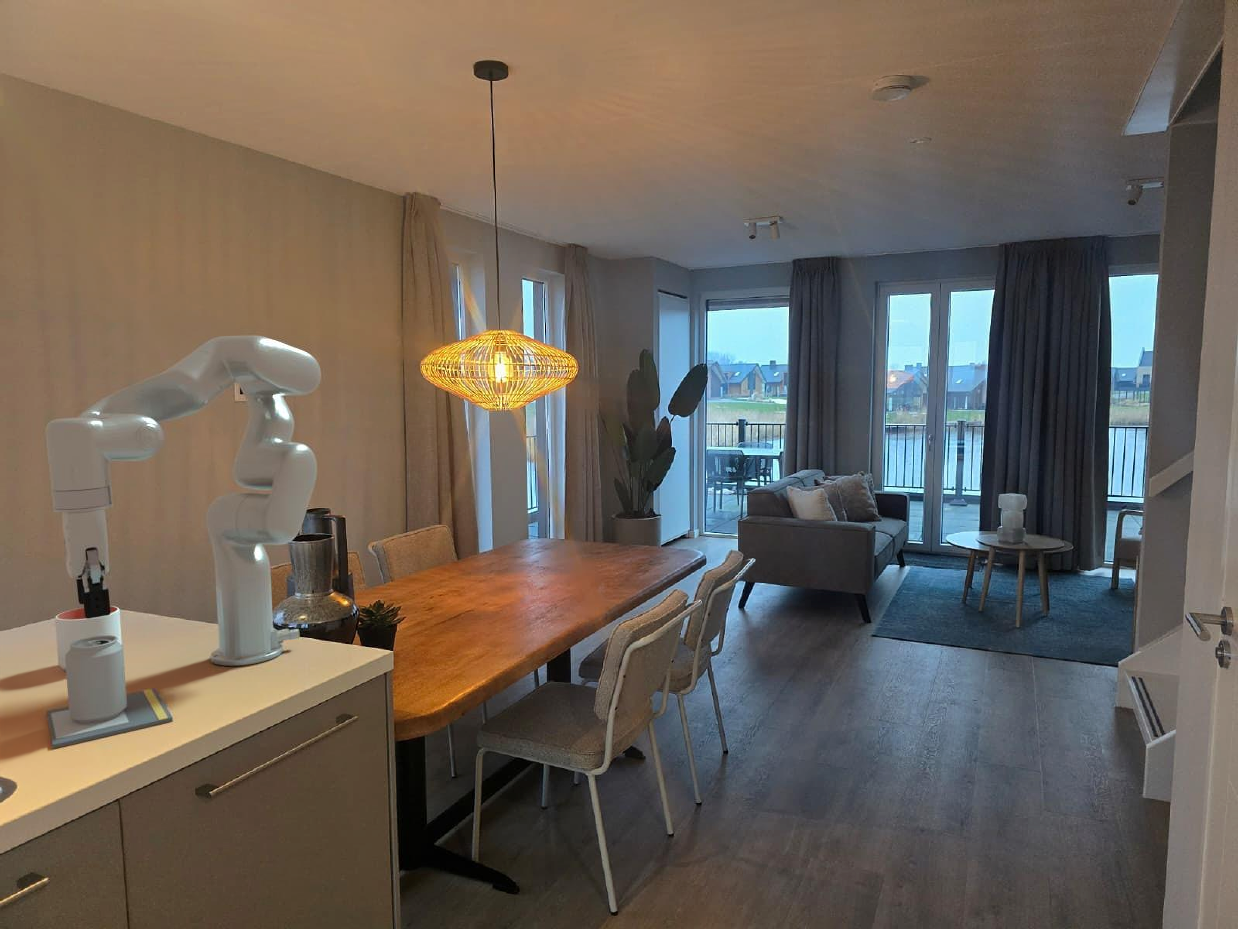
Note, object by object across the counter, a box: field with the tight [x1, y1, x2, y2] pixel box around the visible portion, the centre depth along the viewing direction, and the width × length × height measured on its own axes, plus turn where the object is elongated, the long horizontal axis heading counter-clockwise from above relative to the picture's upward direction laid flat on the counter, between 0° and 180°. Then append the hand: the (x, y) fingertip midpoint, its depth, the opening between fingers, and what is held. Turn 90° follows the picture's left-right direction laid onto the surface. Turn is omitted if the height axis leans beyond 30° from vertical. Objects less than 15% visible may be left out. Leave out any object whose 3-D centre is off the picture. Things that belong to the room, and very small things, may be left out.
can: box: [65, 635, 127, 723], centre depth 122 cm, size 8×8×12 cm
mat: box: [45, 688, 174, 749], centre depth 123 cm, size 15×16×1 cm
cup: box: [54, 605, 123, 671], centre depth 148 cm, size 10×10×10 cm
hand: (94, 609), depth 121 cm, fingers open, 9 cm apart
